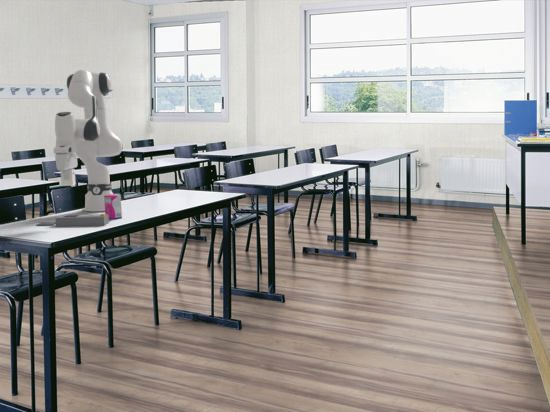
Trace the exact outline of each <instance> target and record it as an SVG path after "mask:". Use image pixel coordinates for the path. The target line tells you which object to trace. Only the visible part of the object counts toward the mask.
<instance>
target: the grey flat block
mask: <svg viewBox="0 0 550 412" xmlns="http://www.w3.org/2000/svg"><path fill="white" fill-rule="evenodd" d="M111 220H112V219H110V218H108V214H105V212H103V213H100V214H60V215H57V216H56V217H54V222H55V224H54V226H55V227H99V226H100V227H102V226H103V227H104V226H106V225H108V224H109V223H110V221H111Z"/></svg>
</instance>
